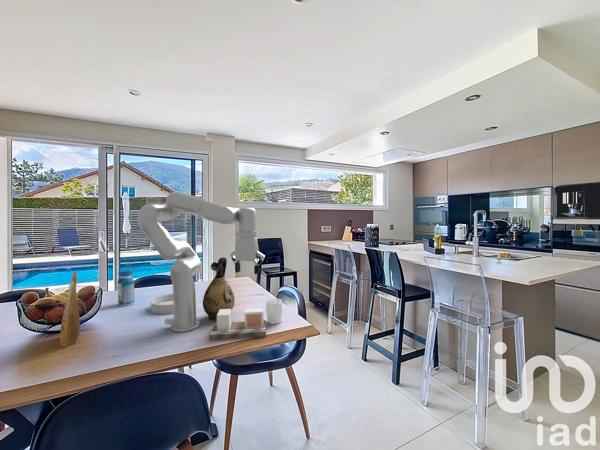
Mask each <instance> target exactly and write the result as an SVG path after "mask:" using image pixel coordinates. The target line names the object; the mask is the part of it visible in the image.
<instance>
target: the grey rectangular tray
mask: <svg viewBox="0 0 600 450" xmlns="http://www.w3.org/2000/svg"><path fill="white" fill-rule="evenodd" d="M231 323H232V324H231V327H230V330H226V331H217V322H215V323H214V326H213V328H211V329H212V330H211V331H209V340H210V341H212V340H226V339H229V340H230V339H244V338H260V337H267V319H264V328H248V329H245V321H231Z"/></svg>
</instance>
